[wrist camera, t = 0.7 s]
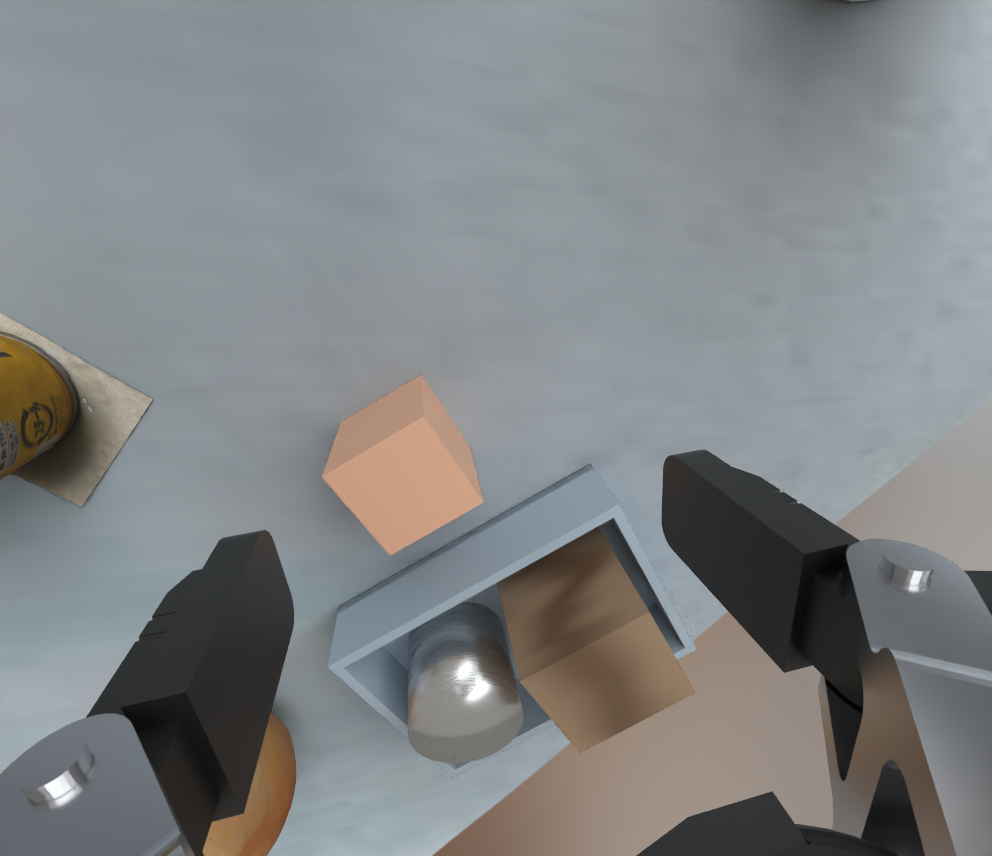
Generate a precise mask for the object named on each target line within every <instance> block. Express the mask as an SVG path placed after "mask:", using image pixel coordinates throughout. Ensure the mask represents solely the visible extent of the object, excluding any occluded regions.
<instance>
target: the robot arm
mask: <svg viewBox="0 0 992 856" xmlns="http://www.w3.org/2000/svg"><path fill="white" fill-rule="evenodd" d="M847 1H851V2H853V1H868V0H847ZM662 527H663V532H664V535H665V538H666V540H667V542H668V544H669V546H670V547H671V548H672V550H673V551H674V552H675V553H676V554H677V555H678V556H679V557H680V559H681V560H682V561H683V562H684V563H685V564H686V565H687V566H688V567H689V568H690V570H691V571H692V572H693V573H694V574H695V575H696V576H697V577H698V578H699V579H700V581H701V582H702V583H703V584H704V585H705V586H706V587H707V588H708V589H709V590H710V592H711V593H712V594H713V595H714V596H715V597H716V598H717V599H718V600H719V601H720V603H721V604H722V605H723V606H724V607H725V608H726V609H727V610H728V611H729V613H730V614H731V615H732V616H733V617H734V618H735V619H736V620H737V621H738V622H739V624H740V625H741V626H742V627H743V628H744V629H745V630H746V631H747V632H748V633H749V635H751V637H752V638H753V639H754V640H755V641H756V642H757V643H758V644H759V645H760V647H761V648H762V649H763V650H764V651H765V652H766V653H767V654H768V655H769V656H770V657H771V659H772V660H773V661H774V662H775V663H776V664H777V665H778V666H779V668H781V670H782V671H783V672H789V671H792V670H796V669H800V668H804V667H808V666H811V665H813V666H814V667H815V668H816V669H817V670H818V671H819V672H820V673H821V677H820V681H819V698H820V706H821V714H822V721H823V729H824V735H825V742H826V750H827V758H828V765H829V773H830V780H831V788H832V795H833V796H832V797H833V828H832V830H831V829H825V828H819V827H812V826H807V825H800V824H794V822H793V821H792V819H791V818H790V816H789V815H788V813H787V812H786V811H785V809H784V808H783V806H782V805H781V803H780V802H779V800H778V799H777V797H776V796H775V795H774V793H773V792H769V793H766V794H762V795H759V796H756V797H753V798H750V799H746V800H743V801H739V802H737V803H733V804H730V805H726V806H723V807H720V808H717V809H713V810H710V811H707V812H703V813H700V814H697V815H693V816H690V817H688V818H686V819H685V820H684V821H682V822H681V823H680V824H678V825H677V826H676V827H674V828H673V829H672V830H670V831H669V832H668V833H666V834H665V835H664V836H662V837H661V838H660V839H658V840H657V841H656V842H654V843H653V844H651V845H650V846H649V847H647V848H646V849H645V850H643V851H642V852H641V853H640V854H638V855H637V856H992V571H963V570H962V569H961V568H960V567H959V566H958V565H956V564H955V563H954V562H952V561H950V560H949V559H947V558H945V557H944V556H942V555H939V554H937V553H935V552H933V551H931V550H928V549H926V548H922V547H919V546H916V545H913V544H909V543H905V542H900V541H895V540H886V539H869V540H863V541H859V540H858V539H856V538H855V537H853V536H852V535H850V534H848V533H847V532H845V531H844V530H842V529H841V528H839V527H837V526H836V525H834V524H833V523H831V522H830V521H828V520H827V519H825V518H823V517H822V516H820V515H819V514H817V513H816V512H814V511H812V510H811V509H809V508H808V507H806V506H805V505H803V504H801V503H800V504H798V503H797V500H795V499H794V498H792V497H791V496H789V495H787V494H786V493H784V492H782V493H781V492H780V489H778V488H776V487H775V486H773V485H772V484H770V483H769V482H767V481H765V480H764V479H762V478H761V477H759V476H756V475H753V474H751V473H748V472H745V471H742V470H739V469H736V468H734V467H731V466H730V465H728V464H727V463H725V462H724V461H722V460H721V459H719V458H718V457H716V456H715V455H713V454H712V453H710V452H708V451H707V450H697V451H692V452H686V453H681V454H676V455H670V456H668V457H667V458H666V460H665V462H664V467H663V493H662ZM152 618H153V619H152V621H149V622H148V624H147V625H146V627H145V628H144V630H143V631H142V633H141V634H140V636H139V641H137V642H135V643H134V645H133V646H132V648H131V650H130V651H129V653H128V654H127V656H126V657H125V659H124V660H123V662H122V663H121V665H120V666H119V668H118V669H117V671H116V673H115V674H114V676H113V677H112V679H111V680H110V682H109V683H108V685H107V686H106V688H105V689H104V691H103V692H102V694H101V695H100V697H99V699H98V700H97V702H96V703H95V705H94V706H93V708H92V709H91V711H90V712H89V714H88V715H87V717H86V718H84V719H81V720H78V721H76V722H73V723H71V724H69V725H67V726H65V727H63V728H61V729H59V730H57V731H55V732H54V733H52V734H50V735H48V736H47V737H45V738H44V739H42V740H41V741H39V742H38V743H36V744H35V745H33V746H32V747H31V748H29V749H28V750H27V751H25V752H24V753H23V754H22V755H21V756H19V757H18V758H17V759H16V760H15V761H14V762H12V763H11V764H10V765H9V766H8V767H7V768H6V769H5V770H4V771H3V772H2V773H1V774H0V856H205V854H204V852H203V848H204V845H205V842H206V839H207V836H208V833H209V829H210V826H211V823H212V822H214V821H218V820H221V819H225V818H229V817H233V816H237V815H240V814H244V811H245V808H246V804H247V800H248V796H249V793H250V789H251V785H252V781H253V777H254V774H255V770H256V766H257V762H258V759H259V755H260V751H261V747H262V744H263V740H264V736H265V732H266V728H267V725H268V721H269V717H270V713H271V710H272V706H273V702H274V698H275V695H276V691H277V687H278V683H279V680H280V676H281V672H282V668H283V664H284V661H285V657H286V653H287V649H288V646H289V642H290V638H291V634H292V630H293V625H294V607H293V600H292V596H291V593H290V590H289V587H288V584H287V580H286V577H285V574H284V571H283V568H282V565H281V562H280V559H279V556H278V553H277V550H276V547H275V544H274V541H273V538H272V536H271V535H270V533H269V532H268V531H266V530H262V531H257V532H252V533H246V534H241V535H236V536H230V537H225V538H222V539H221V540H220V541H219V542H218V543H217V545H216V547H215V549H214V550H213V552H212V554H211V555H210V557H209V559H208V560H207V562H206V564H205V565H204V567H203V569H201V570H195V571H192V572H191V573H190V574H189V575H188V576H186V577H185V578H184V579H183V580H182V581H181V582H179V583H178V584H177V585H176V586H175V587H174V588H173V589H171V590H170V591H169V592H168V593H167V594H166V596H165V597H164V599H163V601H162V602H161V604H160V605H159V607H158V608H157V610H156V611H155V613H154V614H153V616H152Z"/></svg>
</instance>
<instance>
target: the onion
mask: <svg viewBox="0 0 992 856" xmlns="http://www.w3.org/2000/svg"><path fill="white" fill-rule="evenodd" d="M295 784H296V761H295V754H294V749H293V744H292V740H291V737H290V734H289V732H288V730H287V728H286V727H285V725H284V724H283V723H282V722H281V721H280V720H279V719H278V718H277V717H276V716H275V715H274V714H272V713H270V717H269V721H268V725H267V728H266V732H265V736H264V740H263V744H262V747H261V751H260V755H259V759H258V762H257V766H256V770H255V774H254V777H253V781H252V785H251V789H250V793H249V796H248V800H247V804H246V808H245V811H244V814H240V815H237V816H233V817H229V818H225V819H221V820H218V821H214V822H212V823H211V826H210V829H209V833H208V836H207V839H206V842H205V845H204V848H203V852H204V854H205V856H267V854H268V853H269V851H270V850H271V848H272V847H273V845H274V844H275V842H276V840H277V838H278V837H279V834H280V832H281V830H282V828H283V826H284V823H285V821H286V818H287V815H288V813H289V810H290V807H291V804H292V800H293V795H294V790H295Z"/></svg>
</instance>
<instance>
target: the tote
mask: <svg viewBox="0 0 992 856" xmlns="http://www.w3.org/2000/svg"><path fill="white" fill-rule="evenodd" d="M596 527H599V529H600V531H601V532H602V534H603V536H604V537H605V539H606V541H607V542H608V544H609V545H610V547H611V549H612V550H613V552H614V554H615V555H616V557H617V559H618V560H619V562H620V564H621V565H622V567H623V569H624V570H625V572H626V574H627V575H628V577H629V579H630V580H631V582H632V584H633V585H634V587H635V589H636V590H637V592H638V594H639V595H640V597H641V599H642V600H643V602H644V604H645V605H646V607H647V609H648V610H649V612H650V614H651V615H652V617H653V619H654V621H655V622H656V624H657V626H658V628H659V629H660V631H661V633H662V635H663V636H664V638H665V640H666V642H667V643H668V645H669V647H670V649H671V650H672V652H673V654H674V656H675V657H676V659H679V658H681V657H683V656H684V655H687V654H688V653H690V652H692V651H694V650H696V647H695V645H694V643H693V641H692V639H691V637H690V635H689V633H688V632H687V630H686V628H685V626H684V624H683V622H682V620H681V618H680V617H679V615H678V613H677V611H676V609H675V607H674V605H673V603H672V602H671V600H670V598H669V596H668V594H667V592H666V590H665V588H664V586H663V585H662V583H661V581H660V579H659V577H658V575H657V573H656V571H655V570H654V568H653V566H652V564H651V562H650V560H649V558H648V556H647V555H646V553H645V551H644V549H643V547H642V545H641V543H640V541H639V539H638V538H637V536H636V534H635V532H634V530H633V528H632V526H631V524H630V523H629V521H628V519H627V517H626V515H625V513H624V511H623V509H622V508H621V506H620V504H619V502H618V501H617V500H616V498H615V497H614V496H613V494H612V493H611V491H610V490H609V489H608V487H607V486H606V484H605V483H604V482H603V480H602V479H601V478H600V476H599V475H598V473H597V472H596V471H595V469H594V468H593V467H592V465H591V464H589V465H587V466H585V467H583V468H582V469H580V470H578V471H576V472H575V473H573V474H571V475H569V476H568V477H566V478H564V479H562V480H561V481H559V482H557V483H555V484H553V485H552V486H550V487H548V488H546V489H545V490H543V491H541V492H539V493H538V494H536V495H534V496H532V497H531V498H529V499H527V500H525V501H524V502H522V503H520V504H518V505H516V506H515V507H513V508H511V509H509V510H508V511H506V512H504V513H502V514H501V515H499V516H497V517H495V518H494V519H492V520H490V521H488V522H487V523H485V524H483V525H481V526H479V527H478V528H476V529H474V530H472V531H471V532H469V533H467V534H465V535H464V536H462V537H460V538H458V539H457V540H455V541H453V542H451V543H450V544H448V545H446V546H444V547H442V548H441V549H439V550H437V551H435V552H434V553H432V554H430V555H428V556H427V557H425V558H423V559H421V560H420V561H418V562H416V563H414V564H413V565H411V566H409V567H407V568H405V569H404V570H402V571H400V572H398V573H397V574H395V575H393V576H391V577H390V578H388V579H386V580H384V581H383V582H381V583H379V584H377V585H375V586H374V587H372V588H370V589H368V590H367V591H365V592H363V593H361V594H360V595H358V596H356V597H354V598H353V599H351V600H349V601H347V602H346V603H344V604H342V605H340V606H339V608H338V614H337V619H336V624H335V629H334V635H333V640H332V645H331V650H330V656H329V661H328V666H327V667H328V668H329V669H330V670H331V671H332V672H334V673H335V674H336V675H337V676H338V677H339V678H340V679H341V680H343V681H344V682H345V683H346V684H347V685H348V686H349V687H350V688H352V689H353V690H354V691H355V692H356V693H357V694H358V695H359V696H360V697H362V698H363V699H364V700H365V701H366V702H367V703H368V704H369V705H371V706H372V707H373V708H374V709H375V710H376V711H377V712H378V713H380V714H381V715H382V716H383V717H384V718H385V719H386V720H387V721H389V722H390V723H391V724H392V725H393V726H394V727H395V728H396V729H398V730H399V731H400V732H401V733H402V734H403V735H404V736H405V737H406V738H408V654H409V635H410V633H411V630H413V629H414V628H416V627H418V626H420V625H422V624H423V623H425V622H427V621H429V620H431V619H432V618H434V617H436V616H438V615H440V614H441V613H443V612H445V611H447V610H449V609H450V608H452V607H454V606H456V605H458V604H459V603H461V602H473V603H478V604H481V605H484V606H486V607H488V608H490V609H491V610H493V611H494V612H495V613H496V614H497V615H498V616H499V617H500V619H501V620H502V623H503V625H504V629H505V634H506V638H507V643H508V647H509V652H510V656H511V661H512V665H513V670H514V674H515V679H516V683H517V688H518V692H519V696H520V701H521V705H522V710H523V722H522V725H521V728H520V730H519V732H518V733H517V735H516V736H515V738H514V739H513V740H512V741H511V742H510V743H509V744H508V745H506V746H505V747H504V748H502V749H501V750H499V751H498V752H496V753H494V754H492V755H490V756H488V757H485V758H483V759H479V760H476V761H472V762H466V763H443V762H438V761H434V760H432V761H433V762H435V763H436V764H437V765H438V766H439V767H440V768H441V769H442V770H443V771H445V772H446V773H447V774H448V775H449V776H450V777H451V778H453V777H455V776H457V775H459V774H461V773H463V772H465V771H467V770H469V769H470V768H472V767H474V766H476V765H478V764H480V763H482V762H484V761H486V760H488V759H489V758H491V757H493V756H495V755H497V754H499V753H501V752H503V751H505V750H506V749H508V748H510V747H512V746H514V745H516V744H518V743H520V742H522V741H524V740H525V739H527V738H529V737H531V736H533V735H535V734H537V733H539V732H541V731H542V730H544V729H546V728H548V727H550V726H552V725H554V724H555V723H554V722H553V721H552V719H551V718H550V717H549V716H548V715H547V713H546V712H545V711H544V710H543V709H542V708H541V706H540V705H539V704H538V703H537V702H536V700H535V699H534V698H533V697H532V696H531V694H530V693H529V692H528V691H527V690H526V688H525V687H524V686H523V685H522V684H521V683H520V680H519V676H518V672H517V667H516V663H515V659H514V654H513V650H512V646H511V641H510V637H509V633H508V628H507V624H506V620H505V615H504V611H503V607H502V602H501V598H500V594H499V590H498V585H497V582H499V581H501V580H502V579H504V578H506V577H508V576H510V575H511V574H513V573H515V572H517V571H519V570H520V569H522V568H524V567H526V566H528V565H529V564H531V563H533V562H535V561H537V560H538V559H540V558H542V557H544V556H546V555H547V554H549V553H551V552H553V551H555V550H556V549H558V548H560V547H562V546H564V545H565V544H567V543H569V542H571V541H573V540H574V539H576V538H578V537H580V536H582V535H583V534H585V533H587V532H589V531H591V530H592V529H594V528H596ZM408 739H409V738H408Z"/></svg>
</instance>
